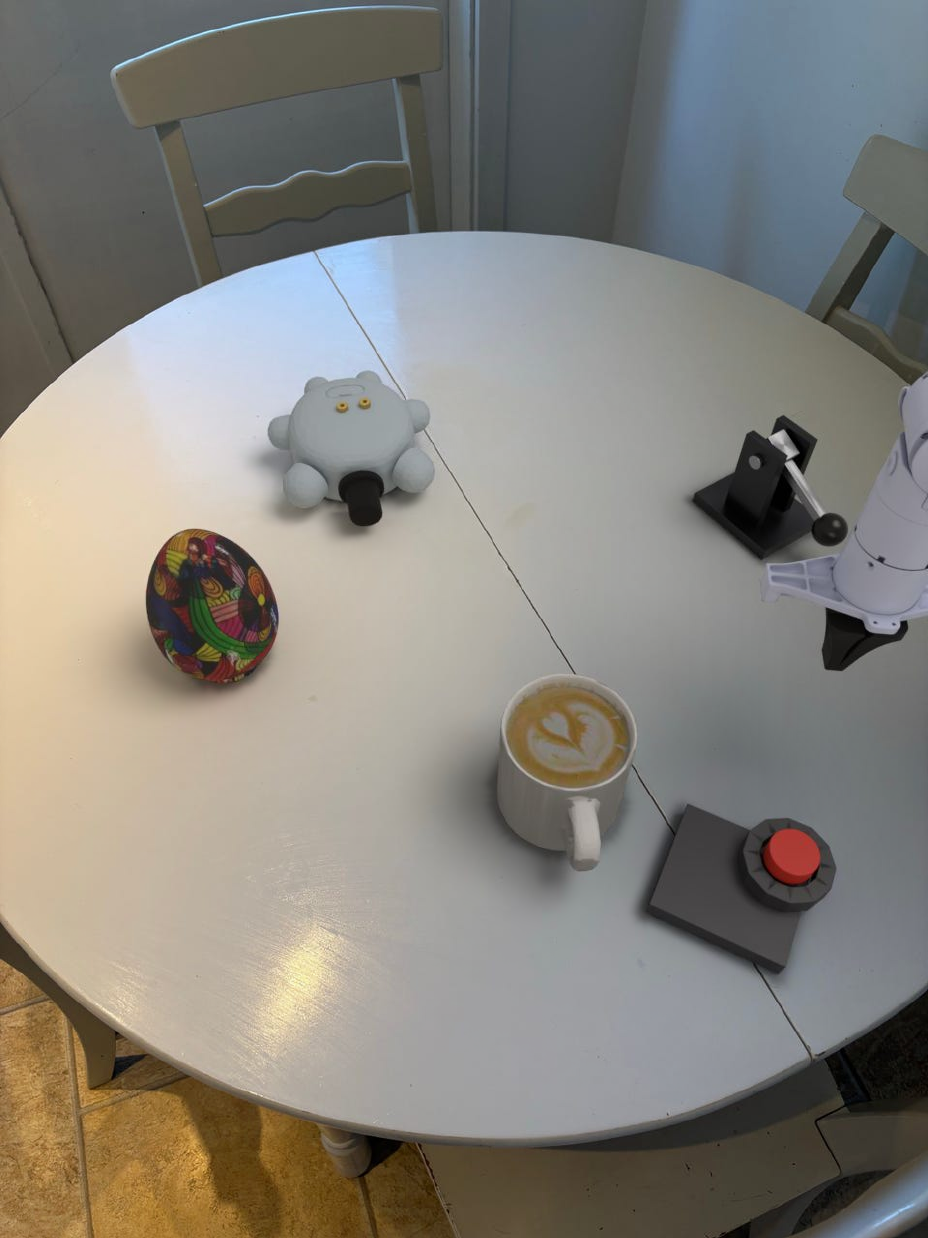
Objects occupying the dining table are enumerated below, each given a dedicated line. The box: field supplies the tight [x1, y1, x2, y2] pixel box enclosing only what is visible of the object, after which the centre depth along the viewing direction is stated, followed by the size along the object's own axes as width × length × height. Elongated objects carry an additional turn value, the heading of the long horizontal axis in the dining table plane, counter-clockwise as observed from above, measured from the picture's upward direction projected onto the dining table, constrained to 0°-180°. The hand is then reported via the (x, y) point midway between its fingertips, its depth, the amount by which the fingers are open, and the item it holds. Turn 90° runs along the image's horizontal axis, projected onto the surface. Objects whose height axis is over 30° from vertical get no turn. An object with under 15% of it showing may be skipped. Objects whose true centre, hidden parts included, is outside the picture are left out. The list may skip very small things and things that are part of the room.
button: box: [763, 829, 820, 885], centre depth 65 cm, size 4×4×2 cm
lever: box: [765, 429, 849, 548], centre depth 84 cm, size 12×3×3 cm, turn 34°
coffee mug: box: [496, 673, 639, 872], centre depth 67 cm, size 13×10×10 cm
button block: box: [645, 803, 837, 975], centre depth 66 cm, size 11×10×4 cm
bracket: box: [692, 414, 819, 560], centre depth 88 cm, size 10×8×10 cm
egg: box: [145, 528, 280, 684], centre depth 75 cm, size 11×11×15 cm
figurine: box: [267, 369, 436, 528], centre depth 93 cm, size 17×8×20 cm
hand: (832, 660), depth 68 cm, fingers closed
